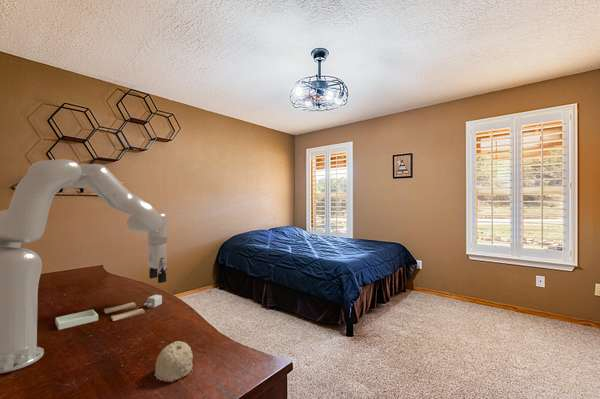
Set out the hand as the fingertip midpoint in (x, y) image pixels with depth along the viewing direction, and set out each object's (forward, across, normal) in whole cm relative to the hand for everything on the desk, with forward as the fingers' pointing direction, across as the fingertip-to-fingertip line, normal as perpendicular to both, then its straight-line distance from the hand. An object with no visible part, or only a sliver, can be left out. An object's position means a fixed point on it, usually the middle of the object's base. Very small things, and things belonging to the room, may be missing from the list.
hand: (157, 280), depth 127 cm
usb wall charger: (+11, +2, -3) cm, 11 cm away
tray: (+10, -2, -28) cm, 30 cm away
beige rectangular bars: (+10, 0, -13) cm, 17 cm away
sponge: (+10, +56, -17) cm, 60 cm away
